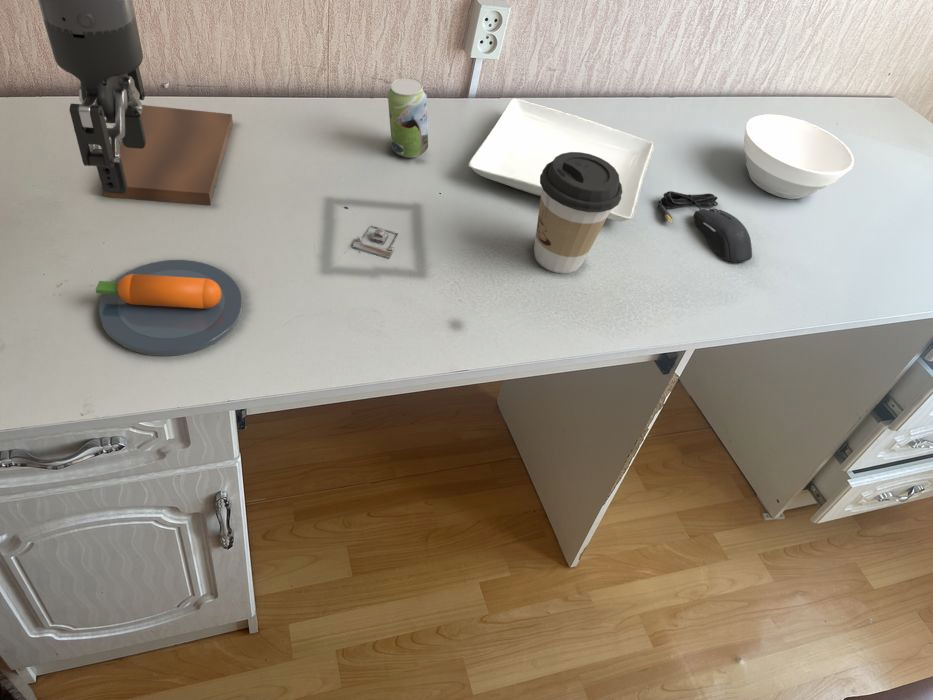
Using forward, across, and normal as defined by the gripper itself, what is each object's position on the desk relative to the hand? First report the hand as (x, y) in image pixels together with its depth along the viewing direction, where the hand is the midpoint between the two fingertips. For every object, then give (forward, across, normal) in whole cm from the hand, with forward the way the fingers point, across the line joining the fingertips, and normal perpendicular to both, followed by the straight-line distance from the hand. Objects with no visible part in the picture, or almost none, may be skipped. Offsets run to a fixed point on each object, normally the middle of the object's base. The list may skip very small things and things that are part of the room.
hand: (126, 168), depth 74 cm
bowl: (+19, -39, +101) cm, 110 cm away
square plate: (+18, -36, +59) cm, 71 cm away
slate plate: (+18, +3, +3) cm, 18 cm away
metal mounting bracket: (+18, -9, +29) cm, 35 cm away
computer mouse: (+19, -22, +80) cm, 85 cm away
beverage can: (+18, -37, +32) cm, 52 cm away
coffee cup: (+18, -12, +54) cm, 58 cm away
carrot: (+17, +3, +1) cm, 17 cm away
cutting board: (+17, -29, -3) cm, 34 cm away
